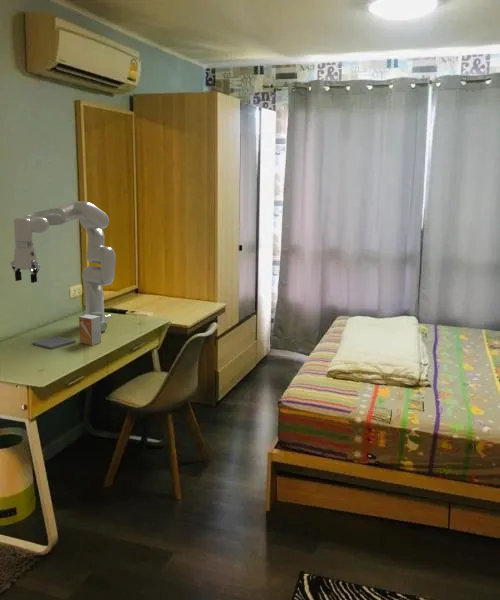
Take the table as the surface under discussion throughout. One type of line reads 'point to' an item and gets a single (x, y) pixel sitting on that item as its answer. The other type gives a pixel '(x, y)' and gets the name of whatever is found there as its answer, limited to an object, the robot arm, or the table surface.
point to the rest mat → (54, 342)
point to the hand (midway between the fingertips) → (26, 281)
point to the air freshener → (103, 323)
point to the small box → (90, 329)
